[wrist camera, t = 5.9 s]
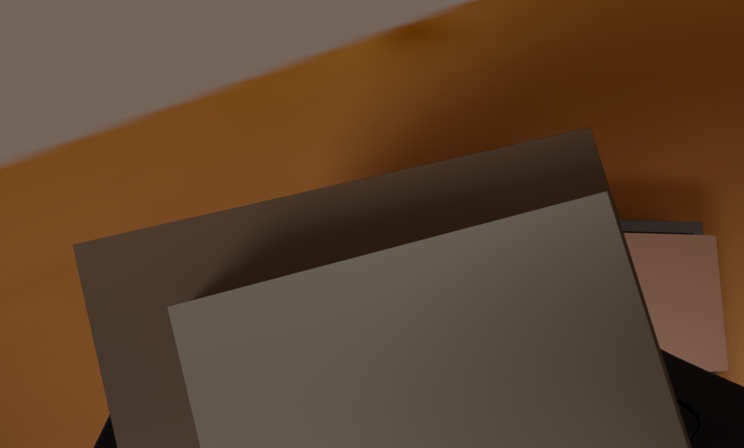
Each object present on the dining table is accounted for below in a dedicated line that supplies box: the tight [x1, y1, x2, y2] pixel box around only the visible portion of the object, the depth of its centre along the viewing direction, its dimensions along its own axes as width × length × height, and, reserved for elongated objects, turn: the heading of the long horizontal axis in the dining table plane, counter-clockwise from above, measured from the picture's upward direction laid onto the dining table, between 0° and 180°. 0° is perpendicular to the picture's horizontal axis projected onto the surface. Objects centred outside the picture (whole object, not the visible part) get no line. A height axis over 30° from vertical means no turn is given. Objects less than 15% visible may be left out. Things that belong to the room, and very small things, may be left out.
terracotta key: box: [624, 233, 729, 372], centre depth 23 cm, size 6×6×2 cm
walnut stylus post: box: [73, 127, 692, 448], centre depth 10 cm, size 4×4×13 cm
